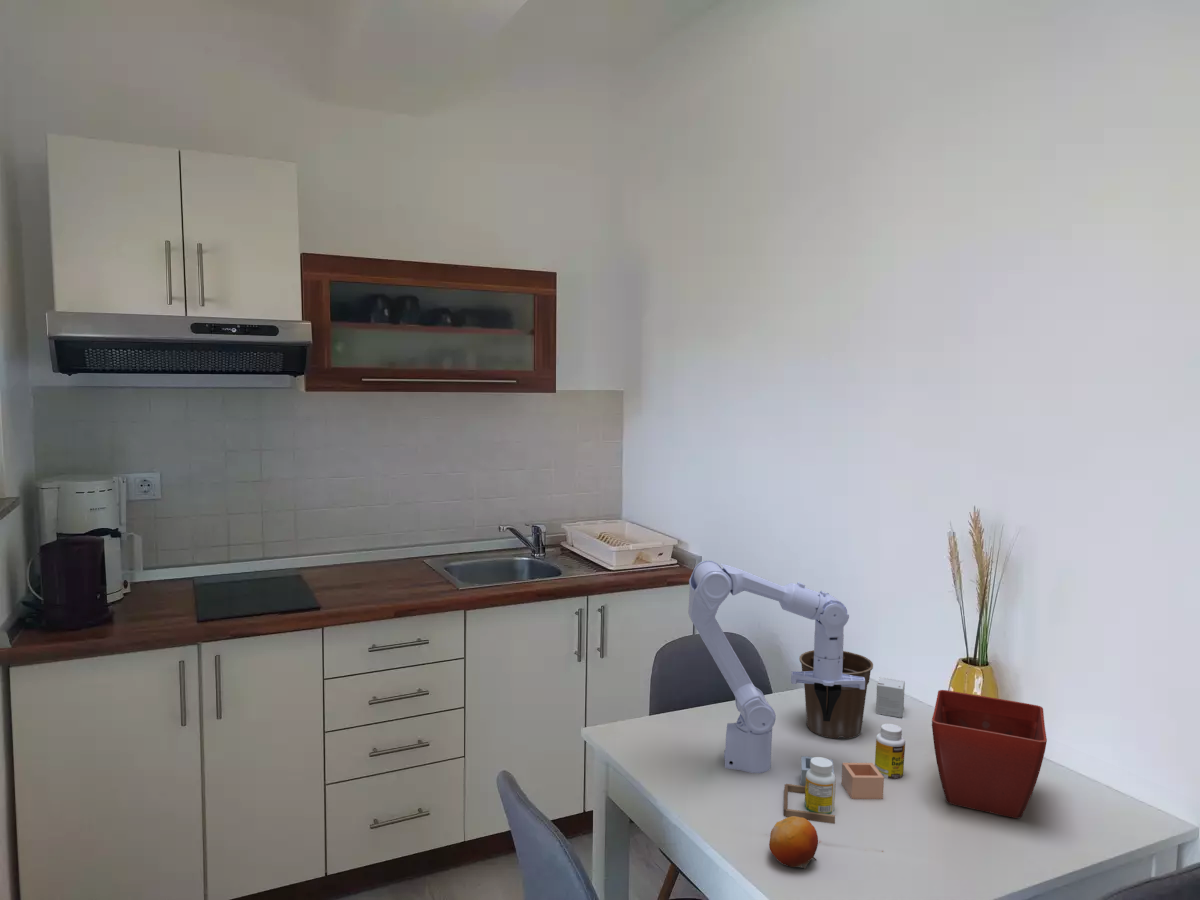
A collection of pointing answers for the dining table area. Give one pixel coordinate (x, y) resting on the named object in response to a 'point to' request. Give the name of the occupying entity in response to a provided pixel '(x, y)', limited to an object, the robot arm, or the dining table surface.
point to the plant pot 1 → (848, 705)
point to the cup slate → (807, 768)
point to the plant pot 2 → (988, 751)
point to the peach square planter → (862, 781)
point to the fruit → (793, 841)
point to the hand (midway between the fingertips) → (826, 719)
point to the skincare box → (890, 697)
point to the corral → (804, 814)
